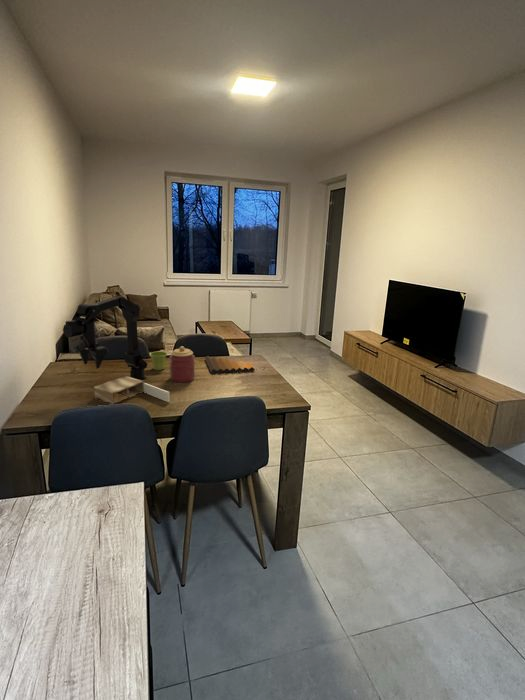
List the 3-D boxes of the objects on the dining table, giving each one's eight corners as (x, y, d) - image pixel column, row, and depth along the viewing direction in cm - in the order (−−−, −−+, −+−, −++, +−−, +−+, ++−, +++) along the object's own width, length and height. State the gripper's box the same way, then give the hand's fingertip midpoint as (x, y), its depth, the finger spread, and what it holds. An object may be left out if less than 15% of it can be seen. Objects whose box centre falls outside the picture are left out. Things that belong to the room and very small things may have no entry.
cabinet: (126, 386, 197) (125, 375, 195) (143, 392, 191) (143, 381, 189) (95, 398, 182) (94, 386, 180) (112, 404, 176) (111, 392, 174)
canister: (164, 379, 208) (163, 347, 203) (180, 372, 219) (180, 341, 214) (184, 384, 202) (184, 351, 197) (200, 377, 213) (199, 345, 208)
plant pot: (149, 366, 226) (148, 352, 224) (165, 365, 230) (165, 350, 228) (151, 372, 218) (151, 356, 216) (169, 370, 222) (168, 355, 220)
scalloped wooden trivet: (204, 361, 242) (210, 374, 219) (204, 355, 241) (210, 369, 218) (244, 359, 249) (254, 372, 226) (244, 353, 248) (254, 366, 225)
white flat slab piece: (142, 392, 190) (142, 382, 188) (144, 392, 191) (144, 381, 189) (168, 402, 180) (167, 391, 179) (169, 402, 181) (169, 391, 179)
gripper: (59, 332, 175) (62, 366, 179) (84, 340, 165) (87, 375, 169) (82, 328, 183) (85, 360, 188) (107, 335, 174) (110, 368, 178)
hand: (91, 366), depth 180 cm, fingers open, 9 cm apart
